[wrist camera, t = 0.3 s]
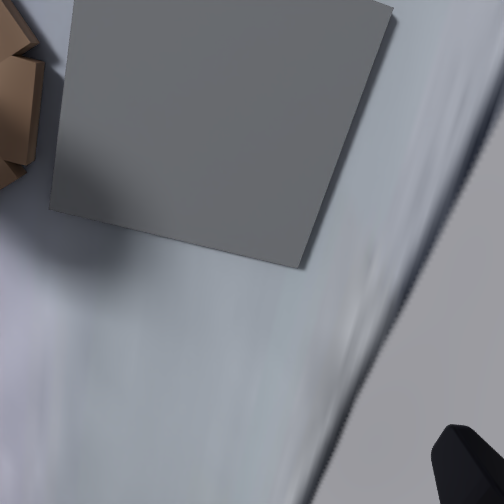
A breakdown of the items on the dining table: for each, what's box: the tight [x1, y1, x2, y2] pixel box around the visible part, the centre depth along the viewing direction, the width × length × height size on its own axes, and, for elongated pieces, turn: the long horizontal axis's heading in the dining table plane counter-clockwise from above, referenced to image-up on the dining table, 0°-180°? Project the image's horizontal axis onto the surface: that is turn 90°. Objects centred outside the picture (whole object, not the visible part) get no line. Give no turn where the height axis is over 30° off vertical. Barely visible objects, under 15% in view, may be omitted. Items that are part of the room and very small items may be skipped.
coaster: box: [49, 0, 394, 268], centre depth 19 cm, size 12×12×1 cm
